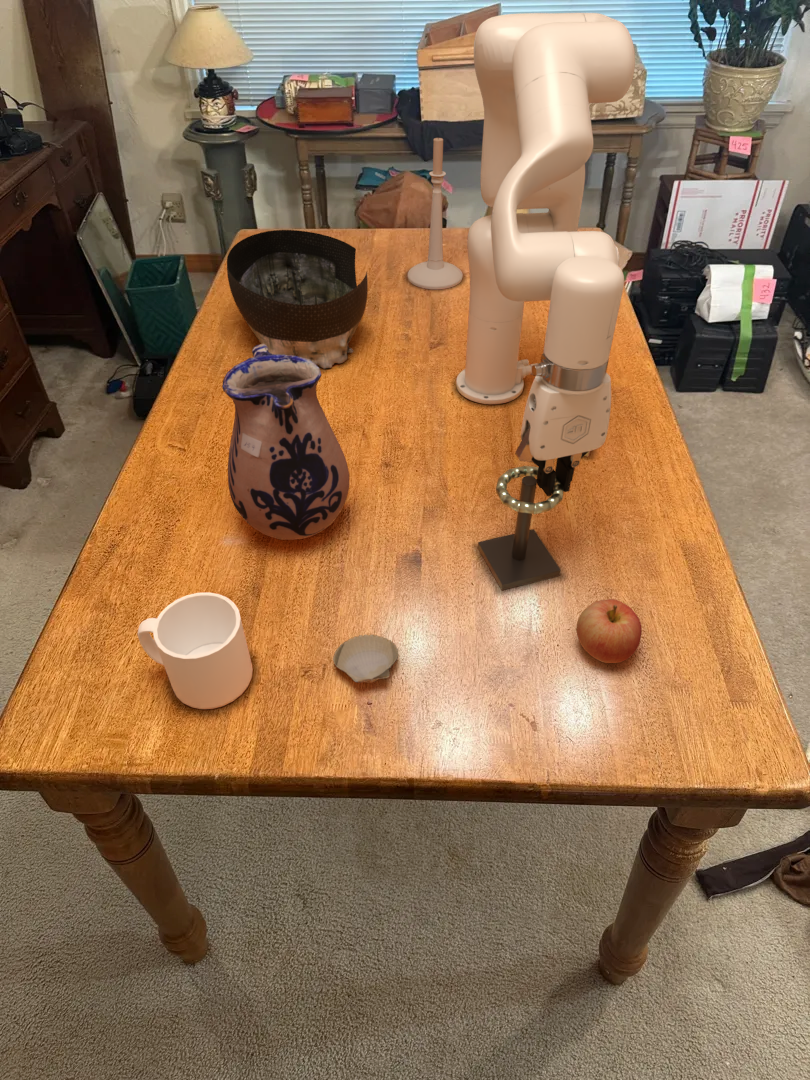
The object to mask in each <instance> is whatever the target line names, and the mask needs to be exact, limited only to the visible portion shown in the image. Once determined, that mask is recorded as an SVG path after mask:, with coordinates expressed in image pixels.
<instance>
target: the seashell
mask: <svg viewBox="0 0 810 1080" xmlns="http://www.w3.org/2000/svg"><path fill="white" fill-rule="evenodd" d="M398 658H399V649H398V647H397V645H396V644H395V642H392V640H390V639H388V638H387V637H384V636H380V635H377V634H376V635H374V634H363V635H362V634H360V635H358V636H354V637H352V638H349V639H348V640H346V641H343V643H341V644H340V645H339V646H338V647H337V648H336V650H335V651H334V653H333V658H332V661H333V664H334V665H335V667H336V668H337V669H339V670H340V671H342V672H343V673H344V674H347V676H348V677H349V678H350V679H352V681H353V682H355V683H359V684H361V683H367V684H368V683H370V684H372V683H375V682H376V681H378V680H382V679H388V678H389V677H390V674H391V672H390V670H391V668H392V666H394V664H395V663H396V661H398Z"/></svg>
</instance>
